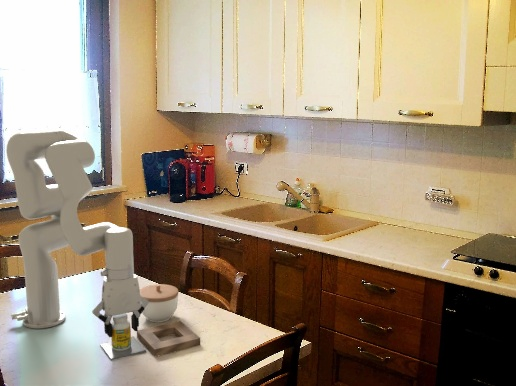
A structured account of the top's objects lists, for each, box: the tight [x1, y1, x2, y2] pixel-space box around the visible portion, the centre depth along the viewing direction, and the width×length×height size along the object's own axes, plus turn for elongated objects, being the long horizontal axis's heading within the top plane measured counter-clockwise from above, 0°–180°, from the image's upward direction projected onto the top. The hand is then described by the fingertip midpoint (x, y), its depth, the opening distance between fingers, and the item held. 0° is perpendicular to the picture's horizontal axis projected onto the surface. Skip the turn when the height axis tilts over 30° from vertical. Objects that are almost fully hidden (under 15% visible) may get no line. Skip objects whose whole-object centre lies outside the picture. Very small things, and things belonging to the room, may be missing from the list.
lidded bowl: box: [140, 283, 179, 323], centre depth 181 cm, size 13×13×11 cm
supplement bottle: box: [110, 313, 132, 351], centre depth 160 cm, size 5×5×10 cm
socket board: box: [136, 320, 201, 357], centre depth 166 cm, size 14×14×2 cm
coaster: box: [99, 336, 147, 362], centre depth 161 cm, size 10×10×1 cm
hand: (122, 331), depth 160 cm, fingers open, 6 cm apart
